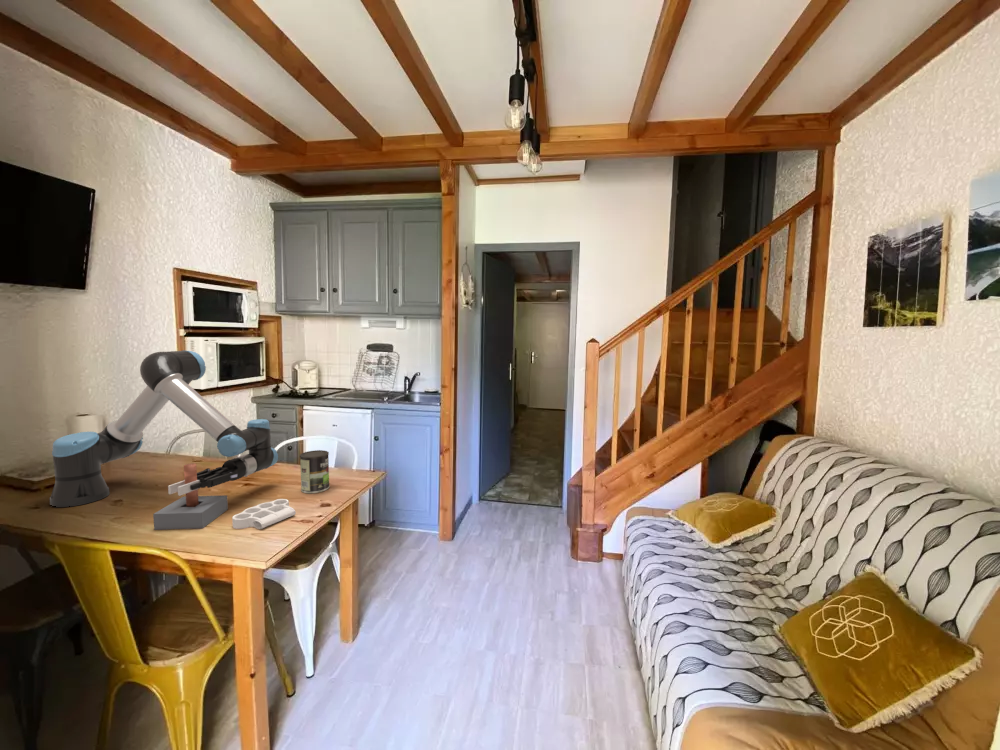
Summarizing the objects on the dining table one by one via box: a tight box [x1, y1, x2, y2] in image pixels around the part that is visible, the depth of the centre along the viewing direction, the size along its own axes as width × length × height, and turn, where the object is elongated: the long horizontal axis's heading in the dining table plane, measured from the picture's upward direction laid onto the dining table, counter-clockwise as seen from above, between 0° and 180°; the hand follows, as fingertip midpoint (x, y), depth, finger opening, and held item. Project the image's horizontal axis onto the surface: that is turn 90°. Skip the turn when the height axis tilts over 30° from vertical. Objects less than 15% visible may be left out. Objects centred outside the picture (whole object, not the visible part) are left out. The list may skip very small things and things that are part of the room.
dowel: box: [183, 463, 199, 507], centre depth 134 cm, size 3×3×16 cm
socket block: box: [152, 494, 229, 531], centre depth 134 cm, size 14×14×5 cm
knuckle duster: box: [231, 498, 296, 530], centre depth 136 cm, size 3×18×15 cm
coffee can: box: [299, 449, 330, 494], centre depth 162 cm, size 10×10×14 cm
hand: (174, 490), depth 128 cm, fingers closed on dowel, 3 cm apart
